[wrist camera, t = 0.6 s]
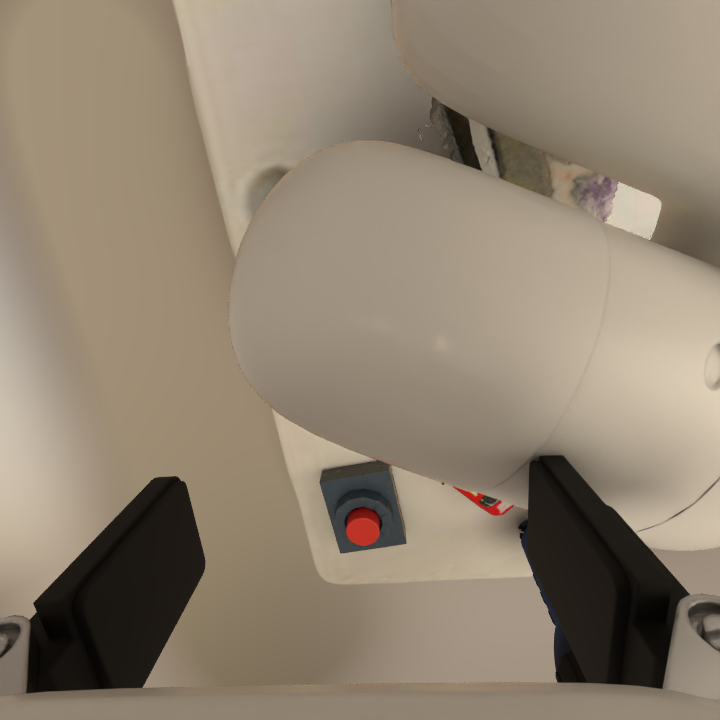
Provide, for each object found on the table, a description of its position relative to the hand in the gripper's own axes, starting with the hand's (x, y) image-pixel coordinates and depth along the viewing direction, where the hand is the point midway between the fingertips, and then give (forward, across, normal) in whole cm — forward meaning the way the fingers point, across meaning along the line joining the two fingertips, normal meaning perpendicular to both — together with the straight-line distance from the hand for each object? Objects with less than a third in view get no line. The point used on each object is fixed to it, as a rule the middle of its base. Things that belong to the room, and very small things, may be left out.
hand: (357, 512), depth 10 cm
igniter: (+31, +3, +22) cm, 39 cm away
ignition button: (+28, +3, +23) cm, 36 cm away
